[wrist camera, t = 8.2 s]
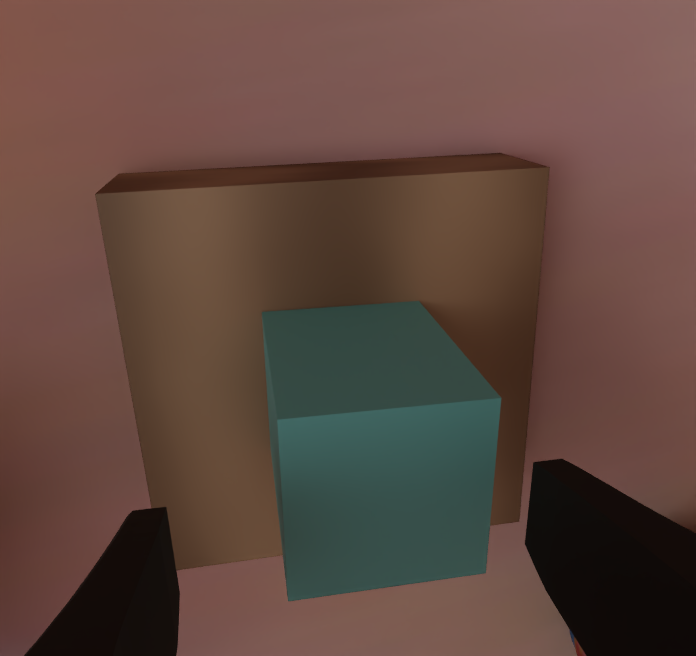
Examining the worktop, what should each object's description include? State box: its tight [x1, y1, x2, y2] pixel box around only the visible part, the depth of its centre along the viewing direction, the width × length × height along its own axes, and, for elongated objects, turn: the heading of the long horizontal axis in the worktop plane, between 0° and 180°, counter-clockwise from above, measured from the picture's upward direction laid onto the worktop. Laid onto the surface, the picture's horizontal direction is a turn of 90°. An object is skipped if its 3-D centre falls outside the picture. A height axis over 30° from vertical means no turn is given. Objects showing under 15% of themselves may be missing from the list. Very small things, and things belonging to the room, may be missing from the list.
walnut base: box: [95, 153, 549, 570], centre depth 21 cm, size 12×12×4 cm
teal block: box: [262, 301, 501, 601], centre depth 16 cm, size 4×4×6 cm
